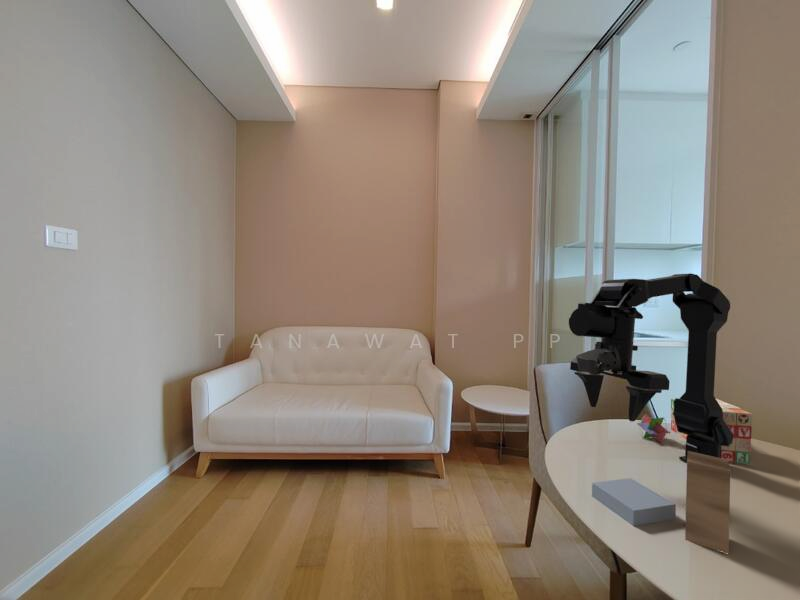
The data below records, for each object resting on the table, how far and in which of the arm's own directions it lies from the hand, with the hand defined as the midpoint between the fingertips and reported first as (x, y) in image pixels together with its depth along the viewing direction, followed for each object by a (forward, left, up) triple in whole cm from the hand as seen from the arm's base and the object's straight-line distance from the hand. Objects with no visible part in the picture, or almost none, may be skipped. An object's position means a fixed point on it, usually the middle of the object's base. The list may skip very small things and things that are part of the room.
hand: (611, 413), depth 73 cm
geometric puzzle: (-30, -16, -14) cm, 37 cm away
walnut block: (-1, +18, -14) cm, 23 cm away
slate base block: (+4, +8, -15) cm, 17 cm away
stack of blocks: (-41, -10, -15) cm, 45 cm away
